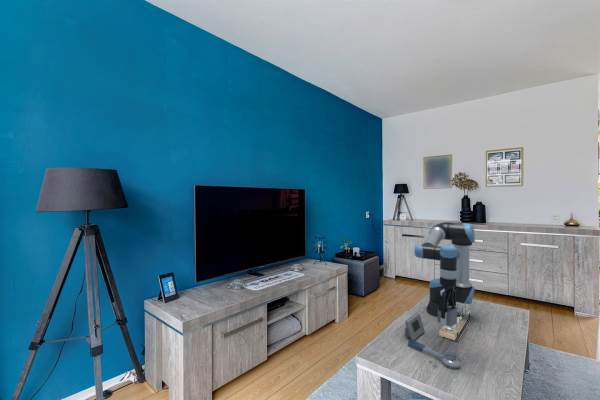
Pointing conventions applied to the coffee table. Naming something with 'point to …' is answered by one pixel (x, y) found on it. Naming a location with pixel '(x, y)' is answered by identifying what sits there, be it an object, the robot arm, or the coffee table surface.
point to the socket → (449, 315)
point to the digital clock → (414, 326)
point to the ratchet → (438, 355)
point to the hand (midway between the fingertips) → (447, 322)
